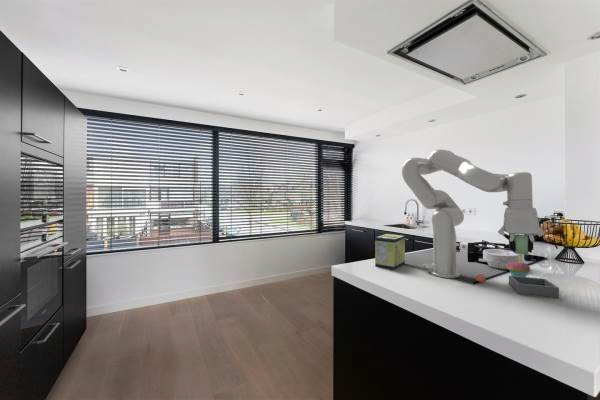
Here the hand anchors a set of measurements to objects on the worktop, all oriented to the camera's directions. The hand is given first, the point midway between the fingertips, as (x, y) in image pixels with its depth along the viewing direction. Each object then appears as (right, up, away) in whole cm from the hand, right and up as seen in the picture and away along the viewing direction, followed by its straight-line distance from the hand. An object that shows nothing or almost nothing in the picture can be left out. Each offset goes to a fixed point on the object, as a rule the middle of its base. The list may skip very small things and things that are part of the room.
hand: (521, 250), depth 103 cm
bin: (+5, -16, +1) cm, 17 cm away
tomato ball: (-8, -16, +12) cm, 21 cm away
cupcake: (+13, -16, +17) cm, 26 cm away
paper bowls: (+18, -15, +33) cm, 41 cm away
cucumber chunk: (0, -1, 0) cm, 1 cm away
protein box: (-37, -15, +40) cm, 57 cm away
